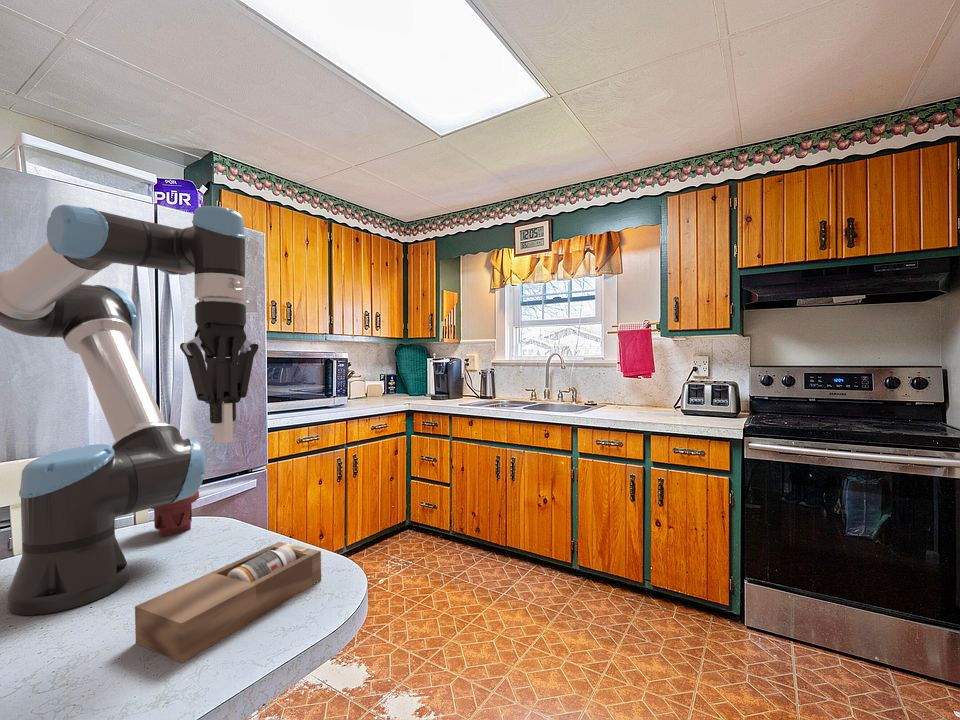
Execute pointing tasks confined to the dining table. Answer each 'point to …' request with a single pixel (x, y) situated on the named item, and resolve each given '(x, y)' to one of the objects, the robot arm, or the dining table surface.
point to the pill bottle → (263, 564)
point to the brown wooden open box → (220, 604)
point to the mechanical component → (174, 516)
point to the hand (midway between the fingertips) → (223, 441)
